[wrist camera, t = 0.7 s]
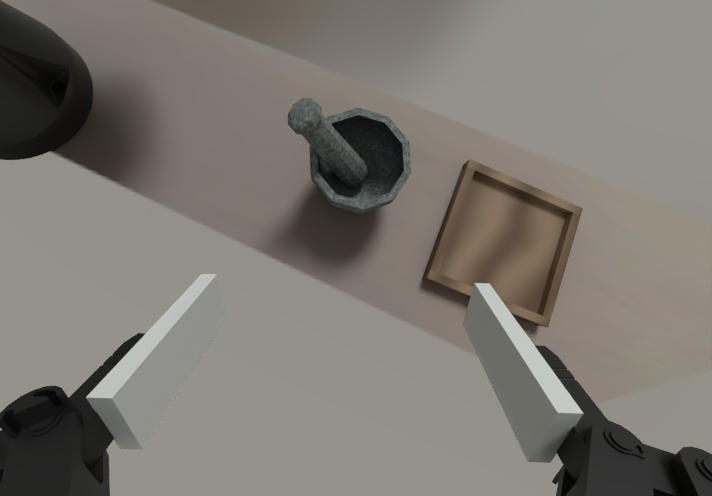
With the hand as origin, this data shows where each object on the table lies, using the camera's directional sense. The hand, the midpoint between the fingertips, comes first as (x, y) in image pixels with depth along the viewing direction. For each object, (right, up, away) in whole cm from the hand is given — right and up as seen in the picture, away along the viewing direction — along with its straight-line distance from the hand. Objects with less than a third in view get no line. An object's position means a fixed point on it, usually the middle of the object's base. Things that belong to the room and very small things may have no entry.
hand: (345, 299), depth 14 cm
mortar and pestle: (0, +11, +18) cm, 21 cm away
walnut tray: (+18, +3, +19) cm, 26 cm away
